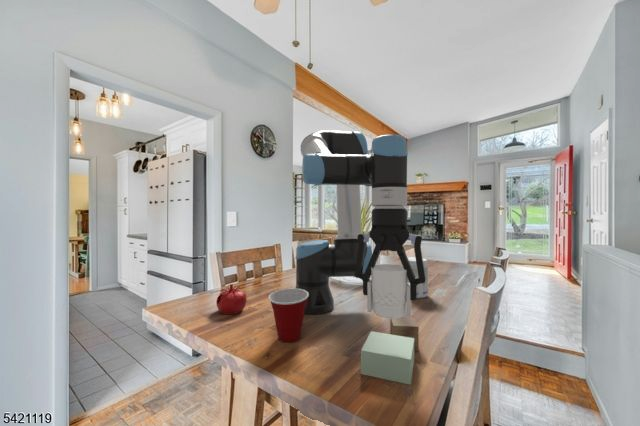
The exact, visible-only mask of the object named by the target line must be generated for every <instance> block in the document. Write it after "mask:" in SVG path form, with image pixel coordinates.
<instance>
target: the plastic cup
mask: <svg viewBox="0 0 640 426" xmlns="http://www.w3.org/2000/svg"><path fill="white" fill-rule="evenodd" d="M308 297H309V293H308V292H307V291H306V290H302V289H296V288H293V287H291V288H289V287H288V288H283V289H278V290H276V291H273V292H271V293H270V294H269V295H268V300H269V302H270V305H271V307H272V310H273V316H274V317H273V318H274V322H275V327H276V331H277V332H276V333H277V337H278V341H280V342H283V343H294V342H297V341H298V340H300V338H301V334H302V329H303V325H304V317H305V313H304V311H305V306H306V302H307V298H308Z"/></svg>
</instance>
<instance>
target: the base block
mask: <svg viewBox="0 0 640 426" xmlns="http://www.w3.org/2000/svg"><path fill="white" fill-rule="evenodd" d="M414 366H415V351H414V338H410V337H403V336H397V335H391V334H390V333H383V332H379V331H378V332H377V331H370V333H369V334H368V336H367V338H366V340H365V341H364V344H363V346H362V348H361V349H360V375H365V376H367V377H368V376H369V377H373V378H377V379H382V380H386V381H387V380H388V381H392V382H397V383H399V384H405V385H409V386H412V381H413V380H412V379H413V371H414Z"/></svg>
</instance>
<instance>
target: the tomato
mask: <svg viewBox="0 0 640 426" xmlns="http://www.w3.org/2000/svg"><path fill="white" fill-rule="evenodd" d="M226 288H227V289H221V290H220V291H219V292H220V294H219V295H218V296H217V298H216V301H215V302H216V307H217V310H218V311H219V312H220V313H221V314H223V315H234V314H238V313H240V312H241V311H243V309H244V308H245V307H246V305H247V301H248V300H247V299H248V297H247V294H246V293H245V292H244V291H241V290H242V289H244V288H242V287H240V286H238V287H236V286H234V284H233V283H232V284H229V287H228V286H227V287H226ZM239 289H241V290H239Z"/></svg>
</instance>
